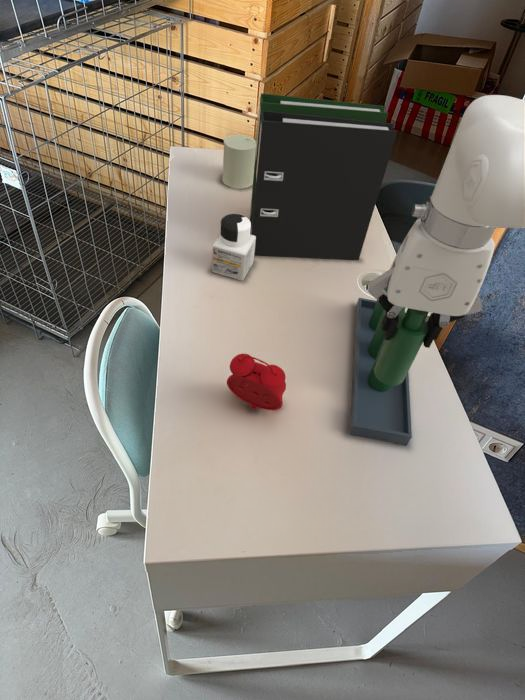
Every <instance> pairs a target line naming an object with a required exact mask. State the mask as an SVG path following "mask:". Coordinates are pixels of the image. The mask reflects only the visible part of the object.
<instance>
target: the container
mask: <svg viewBox="0 0 525 700" xmlns="http://www.w3.org/2000/svg"><path fill="white" fill-rule="evenodd" d="M250 230H251V222H250V218H248V217H247V216H245V215H243V214H240V213H229V214H226V215H224V216H223V217H222V218H221V220H220V234H219V236H218V237H217V238H216V239H215V241H214V243H213V244H212V256H211V258H212V259H211V261H212V262H211V272H212V273H214V274H218V275H221V276H223V277H224V276H225V277H228V278H232V279H235V280H238V281H244V280H245V278H246V276H247V274H248V273H249V271H250V269H251V268H252V266H253V264H254V261H255V256H254V252H255V243H256V236H254V235H250Z"/></svg>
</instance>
